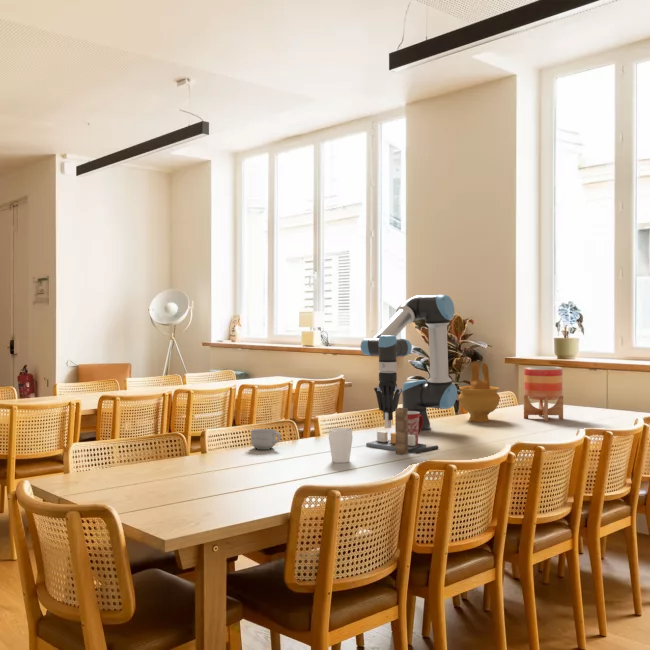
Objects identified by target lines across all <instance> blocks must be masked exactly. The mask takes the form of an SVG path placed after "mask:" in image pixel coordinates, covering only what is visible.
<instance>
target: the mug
mask: <svg viewBox="0 0 650 650" xmlns="http://www.w3.org/2000/svg"><path fill="white" fill-rule="evenodd" d="M419 414H420V412H416V411H408V435H415V443H417V444H419V435H420V433H421V431H422V430H421V428H422V425H423V417H422V416H421V415H419ZM419 418H420V423H419Z"/></svg>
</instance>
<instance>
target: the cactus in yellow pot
mask: <svg viewBox="0 0 650 650" xmlns="http://www.w3.org/2000/svg"><path fill="white" fill-rule="evenodd" d="M481 371H482V374H483V378H482V380H480V378H479V374H480V364H479V363H478V362H474V363H472V365H471V374H472V375H471V378H470V381H469V382H470V385H463V386H459V387H458V388H459V389H460V390H461V393H460V394H459V395H458V396H457V397H458V401H459V404H460V406H461V408H462V409H463V410H464V411H466V412H467V413H469V416H470V417H469V419H468V421H469V420H470V422H477V423H485V422H490V419H489V414H490V413H492V412H494V411H495V410H496V409H497V407H498V406H499V403H500V402H501V401H500V400H501V397H500V395H499V394H498V393H497V392H498V390H499V389H500V387H497V386H491V385H490V375H489V373H490V372H489V366H488V364H487V363H486V362H482V365H481Z"/></svg>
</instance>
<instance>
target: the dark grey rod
mask: <svg viewBox="0 0 650 650" xmlns="http://www.w3.org/2000/svg"><path fill="white" fill-rule="evenodd" d="M438 449H439V446H438V445H437V444H436V445H432V446H426V448H421V449H416V450H414V452H413V453H415V454H418V453H419V454H420V453H423V452H427V451H433V450H438Z"/></svg>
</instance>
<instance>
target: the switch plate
mask: <svg viewBox="0 0 650 650" xmlns="http://www.w3.org/2000/svg"><path fill="white" fill-rule="evenodd" d="M365 444H366V445H365V446H366V447H367V448H375V449H381V450H387V451H394V452H396V444H395V443H391V439H388V441H387V442H381V441H377V440H373V441H370V442H366V443H365ZM426 447H427V444H423V443H418V444H417V443H415V445H414V446H410V445H408V453H415V452H414V450H416V449H421V448H426ZM408 453H407V454H408Z"/></svg>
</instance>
